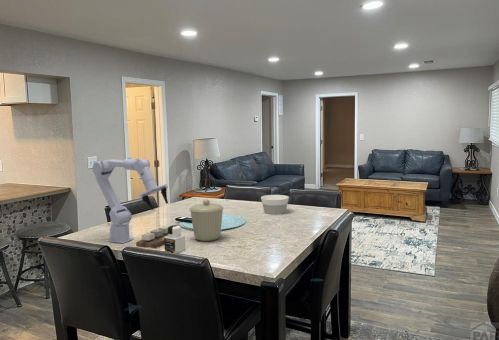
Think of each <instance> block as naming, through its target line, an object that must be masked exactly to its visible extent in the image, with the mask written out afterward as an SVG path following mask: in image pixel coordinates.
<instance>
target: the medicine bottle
mask: <svg viewBox="0 0 499 340" xmlns="http://www.w3.org/2000/svg"><path fill="white" fill-rule="evenodd" d="M167 227H168V235H169V236H166V237H164V245H163V246H164V252H166V251H168V252H167V253H170V252H174V253H173V254H175V253H176V254H178V253H181V252H183V251H185V250H186V235H184V234H182V231H181V230H182V229H181V227H182V226H180V225H177V224H174V225H170V226H167ZM180 234H181V235H180Z"/></svg>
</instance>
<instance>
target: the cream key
mask: <svg viewBox="0 0 499 340" xmlns="http://www.w3.org/2000/svg"><path fill="white" fill-rule="evenodd" d="M154 238H155V233H150V232H146V233H143V234H141V240H151V239H154Z"/></svg>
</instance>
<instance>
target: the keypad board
mask: <svg viewBox="0 0 499 340" xmlns="http://www.w3.org/2000/svg"><path fill="white" fill-rule="evenodd" d="M180 235H182V233H181V234H180ZM166 236H169V235H168V233H163V235H161V236H158V237H155V238H154V239H151V240H142V239H140V240H137V241H136V243H135V244H136V247H143V248H149V247H151V248H152V249H158V248H160V247H162V246H165V245H164V237H166ZM157 247H158V248H157ZM151 248H150V249H151Z"/></svg>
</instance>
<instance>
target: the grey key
mask: <svg viewBox="0 0 499 340" xmlns="http://www.w3.org/2000/svg"><path fill="white" fill-rule="evenodd" d="M149 233H155V237H158V236H161V235H163V230H158V228H157V229H156V228H155V229H153V230H150V232H149Z"/></svg>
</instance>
